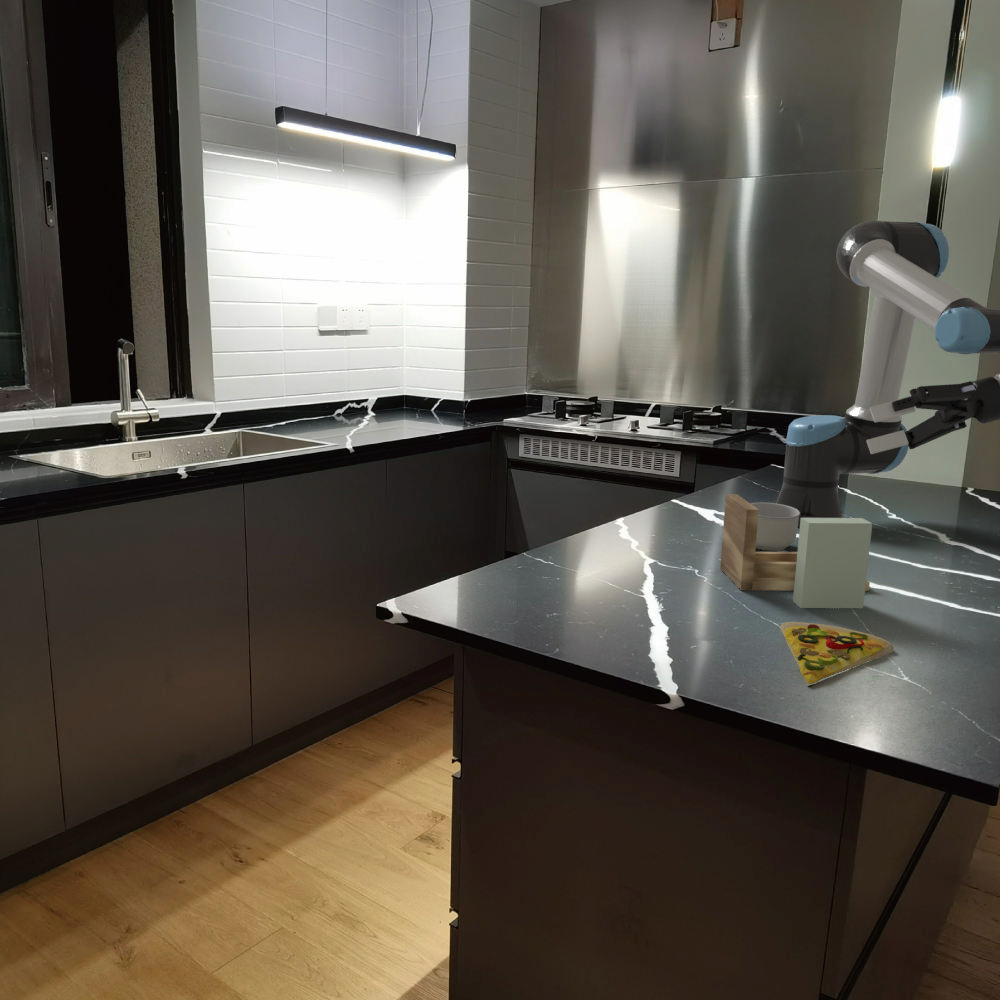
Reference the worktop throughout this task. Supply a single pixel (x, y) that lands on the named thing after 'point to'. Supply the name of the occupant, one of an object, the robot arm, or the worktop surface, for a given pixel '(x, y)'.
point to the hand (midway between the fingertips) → (870, 431)
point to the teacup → (776, 526)
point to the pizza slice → (830, 648)
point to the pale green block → (832, 562)
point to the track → (753, 552)
